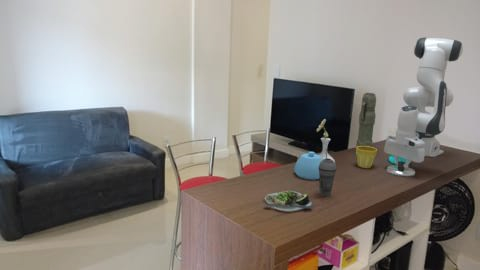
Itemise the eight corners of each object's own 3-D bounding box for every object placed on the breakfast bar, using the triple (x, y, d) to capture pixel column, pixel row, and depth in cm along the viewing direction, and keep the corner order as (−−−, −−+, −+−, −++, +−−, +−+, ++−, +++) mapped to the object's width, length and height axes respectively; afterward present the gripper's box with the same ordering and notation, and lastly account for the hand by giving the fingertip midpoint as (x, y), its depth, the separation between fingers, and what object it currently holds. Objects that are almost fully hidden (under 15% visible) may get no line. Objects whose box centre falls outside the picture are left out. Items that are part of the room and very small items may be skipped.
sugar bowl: (288, 175, 175) (289, 152, 172) (305, 167, 186) (306, 146, 183) (315, 183, 165) (317, 159, 162) (331, 175, 176) (333, 152, 173)
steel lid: (397, 166, 191) (398, 156, 190) (420, 173, 180) (422, 163, 179) (381, 170, 185) (382, 160, 183) (404, 178, 174) (405, 167, 173)
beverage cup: (330, 199, 148) (334, 152, 143) (313, 195, 152) (317, 149, 147) (336, 193, 154) (340, 148, 149) (319, 189, 158) (323, 145, 153)
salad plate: (274, 218, 131) (274, 206, 130) (253, 199, 147) (254, 188, 146) (319, 210, 138) (320, 199, 137) (295, 193, 154) (295, 183, 153)
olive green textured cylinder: (351, 152, 215) (357, 93, 206) (360, 148, 223) (366, 91, 215) (366, 155, 209) (372, 95, 201) (374, 151, 217) (381, 93, 209)
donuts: (388, 144, 195) (394, 141, 203) (385, 162, 198) (391, 158, 205) (407, 148, 189) (413, 144, 196) (405, 166, 191) (410, 162, 199)
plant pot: (372, 163, 195) (374, 146, 193) (377, 170, 185) (379, 151, 183) (352, 162, 196) (354, 145, 194) (356, 168, 186) (358, 150, 184)
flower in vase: (318, 159, 200) (321, 114, 194) (338, 163, 193) (342, 117, 187) (307, 165, 189) (311, 118, 183) (328, 170, 183) (332, 121, 177)
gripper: (383, 135, 185) (380, 161, 189) (420, 145, 168) (415, 173, 172) (391, 134, 189) (388, 159, 192) (428, 143, 172) (424, 171, 175)
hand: (401, 166), depth 182 cm, fingers closed on steel lid, 3 cm apart
